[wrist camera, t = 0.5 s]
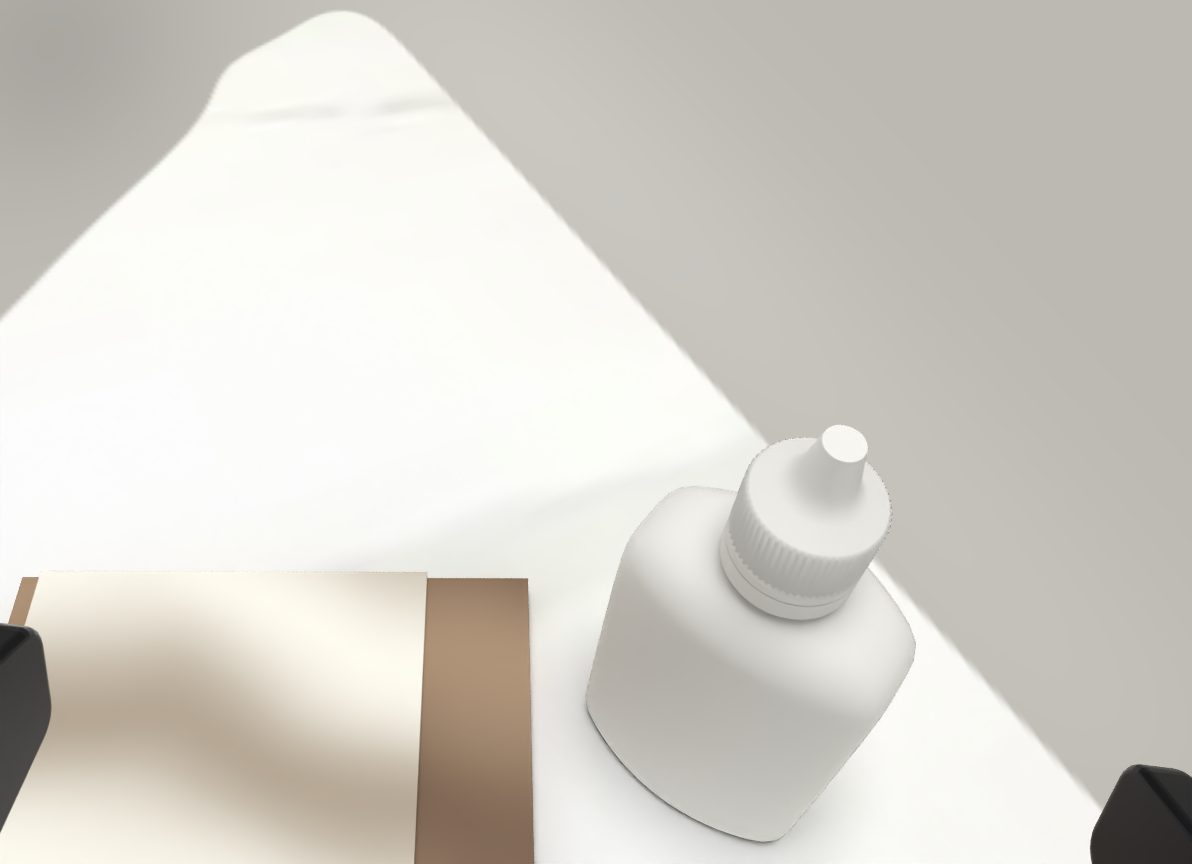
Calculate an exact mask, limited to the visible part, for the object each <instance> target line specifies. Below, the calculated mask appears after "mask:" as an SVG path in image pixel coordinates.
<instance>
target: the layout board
mask: <svg viewBox="0 0 1192 864" xmlns="http://www.w3.org/2000/svg"><path fill="white" fill-rule="evenodd" d="M8 624H12V625H20V626H28V627H31V628H33V629H35V630H36V631H37V632H38V633H39V635H40V636H41V638H42V642H43V647H44V654H45V661H46V667H47V674H48V681H49V688H50V695H51V704H52V709H51V718H50V723H49V726H48V730H47V732H46V735H45V737H44V739H43V742H42V744H41V746H40V748H39V750H38V752H37V755H36V757H35V759H34V761H33V763H32V766H31V768H30V770H29V772H28V774H27V776H26V779H25V781H24V783H23V785H22V787H21V789H20V792H19V794H18V796H17V798H16V800H15V802H14V805H13V807H12V809H11V811H10V813H9V816H8V818H7V820H6V822H5V824H4V826H3V829H2V831H1V833H0V864H534V839H533V793H532V747H531V700H530V654H529V608H528V579H523V578H427V572H188V571H41V572H40V576H39V577H23V578H22V581H21V584H20V587H19V590H18V594H17V597H16V600H15V603H14V607H13V610H12V613H11V616H10V619H9V623H8Z"/></svg>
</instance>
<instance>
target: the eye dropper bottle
mask: <svg viewBox="0 0 1192 864" xmlns="http://www.w3.org/2000/svg"><path fill="white" fill-rule="evenodd" d="M867 450H868V445H867V442H866V440H865V438H864V436H863V435H862V434H861V433H860V432H859V431H857V430H856V429H854V428H852V427H849V426H845V425H834V426H831V427H829V428H828V429H826V430H825V431H824V433H823V434H822V435H821V436H820V437H819V438H818V439H816V438H801V437H800V438H792V439H785V440H784V441H779V442H778V443H773V444H772V446H767V448H766V449H764V450H762V451H761V453H759V454H757V455H756V458H754V459H753V460H752V462H751V464H749V467H748V469H747V470H746V473H745V475H744V478H743V481H742V483H741V486H740V488H739V491H738V492H734V491H729V490H723V489H717V488H710V487H700V486H692V487H682V488H679V489H677V490H675V491H673V492H671V493H669V494H668V495H667V496H666V497H665V498H663V499H662V500H661V501H660V502H659V503H658V504H657V506H656V507H655V508H654V509H653V510H652V511H651V512H650V513H649V515H648V516H647V517H646V518H645V519H644V520H643V522H642V523H641V524H640V525H639V526H638V527H637V529H636V530H635V531H634V533H633V534H632V535H631V537H630V539H629V541H628V543H627V545H626V547H625V550H624V552H623V555H622V558H621V561H620V564H619V568H618V571H617V574H616V578H615V581H614V585H613V588H612V592H611V596H610V600H609V604H608V608H607V611H606V615H605V619H604V623H603V627H602V631H601V635H600V639H599V643H598V647H597V651H596V655H595V659H594V663H593V667H592V671H591V675H590V679H589V683H588V687H587V691H586V700H587V706H588V711H589V713H590V715H591V717H592V719H593V721H594V723H595V725H596V727H597V728H598V730H599V732H600V733H601V735H602V736H603V738H604V739H605V741H606V742H607V744H608V745H609V746H610V748H611V749H612V750H613V752H614V753H615V754H616V755H617V757H618V758H619V759H620V760H621V762H622V763H623V764H624V765H625V766H626V767H627V768H628V769H629V770H630V771H631V772H632V773H633V774H634V775H635V776H636V777H637V778H638V779H639V780H640V781H641V782H642V783H643V784H644V785H645V786H646V787H647V788H649V789H650V790H651V791H652V792H654V793H655V794H656V795H657V796H659V797H660V798H661V799H663V800H664V801H666V802H667V803H668V804H670V805H671V806H673V807H675V808H676V809H678V810H679V811H681V812H683V813H684V814H686V815H688V816H690V817H692V818H693V819H695V820H698V821H700V822H702V823H704V824H706V825H708V826H710V827H713V828H715V829H718V830H720V831H723V832H726V833H729V834H731V835H735V836H738V837H742V838H745V839H750V840H755V841H760V842H764V841H774V840H778V839H780V838H781V837H782V836H783V835H784V834H786V833H787V832H788V831H789V830H790V829H791V828H792V827H793V826H794V825H795V823H796V822H797V821H798V820H799V819H800V817H801V816H802V815H803V814H804V813H805V811H806V810H807V809H808V808H809V807H810V805H811V804H812V803H813V802H814V801H815V799H816V798H817V797H818V796H819V795H820V793H821V792H822V791H823V790H824V789H825V787H826V786H827V785H828V784H829V782H830V781H831V780H832V779H833V778H834V776H835V775H836V774H837V773H838V771H839V770H840V769H841V768H842V767H843V765H844V764H845V763H846V762H847V760H848V759H849V758H850V757H851V756H852V754H853V753H854V752H855V751H856V749H857V748H858V747H859V746H860V745H861V743H862V742H863V741H864V739H865V738H866V737H867V735H868V734H869V733H870V731H871V730H872V729H873V728H874V726H875V725H876V724H877V722H878V721H879V720H880V718H881V717H882V715H883V714H884V712H885V711H886V709H887V708H888V706H889V704H890V703H891V701H892V699H893V698H894V696H895V694H896V693H897V691H898V689H899V687H900V686H901V684H902V682H903V681H904V679H905V677H906V675H907V673H908V671H909V669H910V667H911V665H912V663H913V661H914V655H915V648H916V642H915V639H914V636H913V633H912V630H911V628H910V625H909V623H908V621H907V620H906V618H905V617H904V615H903V613H902V612H901V610H900V608H899V607H898V605H897V604H896V602H895V601H894V600H893V598H892V597H891V595H890V594H889V593H888V591H887V590H886V589H885V587H884V586H883V585H882V584H881V582H880V581H879V580H878V578H877V577H876V576H875V575H874V574H873V573H872V572H871V570H870V569H869V568H868V566H869V564H870V562H871V561H872V559H873V558H874V556H875V554H876V553H877V551H878V550H879V548H880V546H881V545H882V543H883V542H884V540H885V538H886V536H887V534H888V530H889V528H890V527H891V526H890V523H891V521H892V519H891V516H892V512H891V509H892V506H891V504H890V502H891V500H890V498H889V496H888V495H889V493H888V492H887V490H886V487H885V485H884V484H883V481H882V480H881V479H880V477H879V475H878V474H877V473H876V472H875V470H874V469H873V468H872V467H871V466H870V465H869V464H868V463H867V462H866V456H867Z"/></svg>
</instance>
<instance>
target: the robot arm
mask: <svg viewBox="0 0 1192 864" xmlns="http://www.w3.org/2000/svg"><path fill="white" fill-rule="evenodd" d="M51 709H52V704H51V695H50V688H49V681H48V674H47V667H46V661H45V654H44V647H43V642H42V638H41V636H40V635H39V633H38V632H37V631H36V630H35V629H33V628H31V627H28V626H20V625H12V624H4V623H0V833H1V831H2V829H3V826H4V824H5V822H6V820H7V818H8V816H9V813H10V811H11V809H12V807H13V805H14V802H15V800H16V798H17V796H18V794H19V792H20V789H21V787H22V785H23V783H24V781H25V779H26V776H27V774H28V772H29V770H30V768H31V766H32V763H33V761H34V759H35V757H36V755H37V752H38V750H39V748H40V746H41V744H42V742H43V739H44V737H45V735H46V732H47V730H48V726H49V723H50V718H51ZM1090 853H1091V861H1092V864H1192V777H1190V776H1189V775H1188V774H1186V773H1184V772H1183V771H1180V770H1177V769H1173V768H1165V767H1157V766H1149V765H1139V764H1138V765H1132V766H1130V767H1128V768H1127V769H1126V770H1125V771H1123V773H1122V774H1121V776H1120V778H1119V780H1118V782H1117V784H1116V786H1115V788H1114V790H1113V792H1112V793H1111V795H1110V797H1109V799H1108V802H1107V803H1106V805H1105V807H1104V809H1103V811H1102V813H1101V815H1100V817H1099V819H1098V821H1097V823H1096V825H1095V827H1094V829H1093V832H1092V837H1091V843H1090Z"/></svg>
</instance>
